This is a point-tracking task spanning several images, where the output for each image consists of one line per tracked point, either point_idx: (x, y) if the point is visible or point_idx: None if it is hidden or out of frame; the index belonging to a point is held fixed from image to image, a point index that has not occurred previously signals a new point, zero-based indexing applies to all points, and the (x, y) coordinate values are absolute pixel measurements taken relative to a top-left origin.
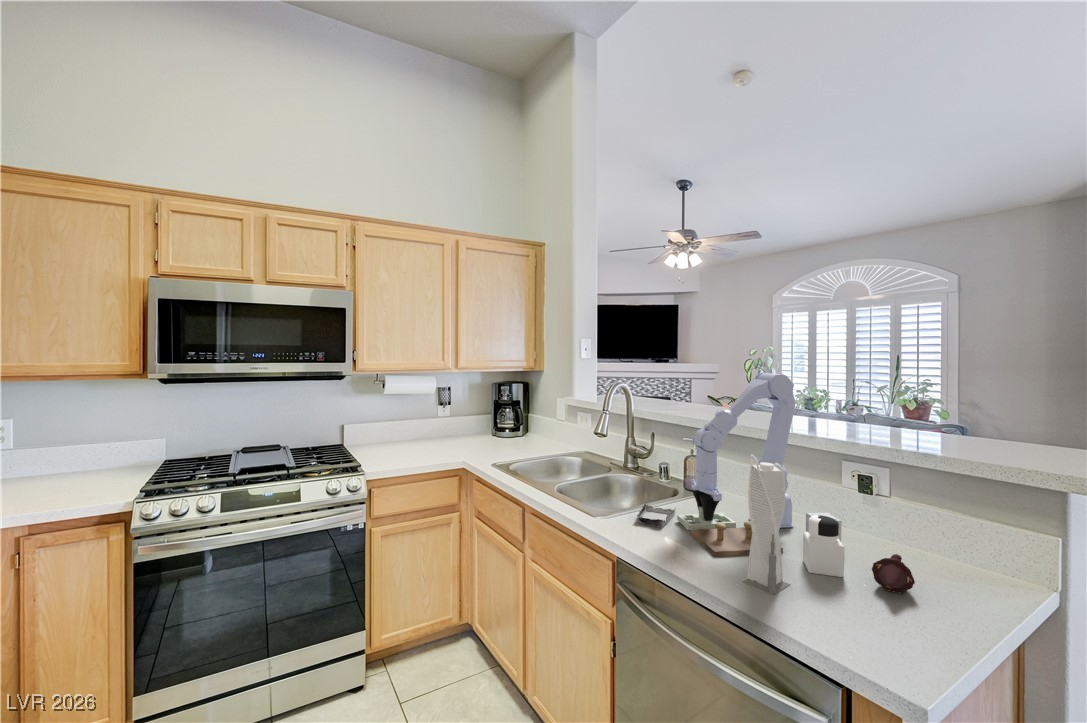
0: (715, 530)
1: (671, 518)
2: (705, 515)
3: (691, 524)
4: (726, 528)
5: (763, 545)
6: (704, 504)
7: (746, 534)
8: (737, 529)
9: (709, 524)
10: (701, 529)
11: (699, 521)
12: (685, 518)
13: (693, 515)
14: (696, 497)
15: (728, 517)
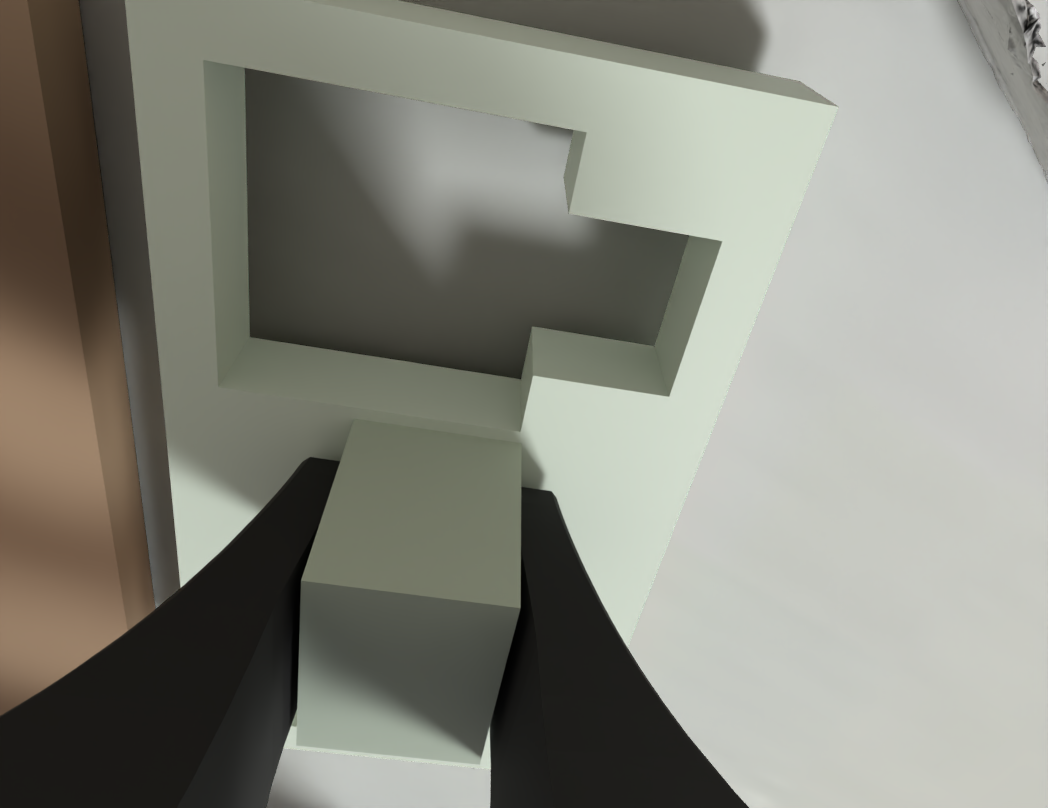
0: (14, 396)
1: (992, 59)
2: (265, 511)
3: (155, 63)
4: (112, 571)
5: None
6: (28, 703)
7: None
8: (74, 656)
9: (172, 424)
10: (55, 193)
11: (467, 392)
12: (573, 172)
13: (642, 412)
14: (566, 803)
15: (396, 758)
